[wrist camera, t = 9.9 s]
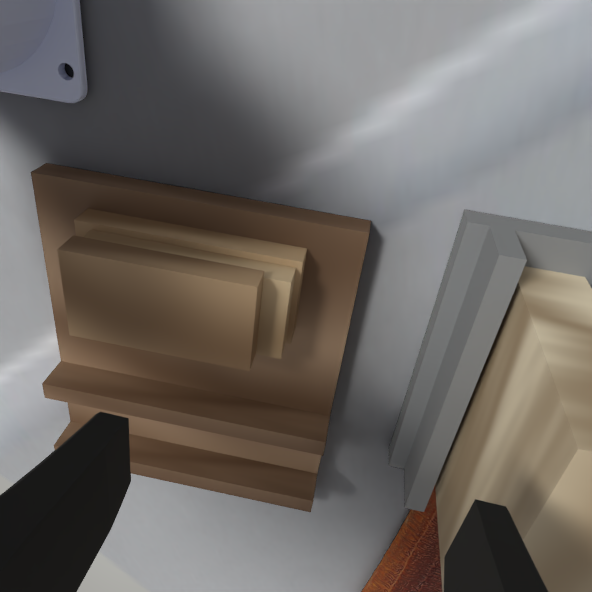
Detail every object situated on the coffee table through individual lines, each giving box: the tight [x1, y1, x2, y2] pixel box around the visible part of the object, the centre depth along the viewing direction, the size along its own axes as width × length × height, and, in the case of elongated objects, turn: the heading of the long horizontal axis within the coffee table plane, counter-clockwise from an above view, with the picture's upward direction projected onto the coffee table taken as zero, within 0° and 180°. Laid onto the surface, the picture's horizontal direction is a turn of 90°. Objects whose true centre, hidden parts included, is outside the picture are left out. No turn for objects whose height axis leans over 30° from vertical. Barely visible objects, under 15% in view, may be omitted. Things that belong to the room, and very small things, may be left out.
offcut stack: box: [57, 208, 307, 371], centre depth 19 cm, size 4×8×3 cm, turn 83°
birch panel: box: [435, 266, 592, 592], centre depth 17 cm, size 2×10×8 cm, turn 173°
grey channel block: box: [389, 210, 592, 512], centre depth 20 cm, size 12×6×3 cm, turn 173°
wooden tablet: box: [361, 486, 442, 592], centre depth 29 cm, size 27×10×2 cm, turn 166°
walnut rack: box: [31, 163, 371, 512], centre depth 22 cm, size 15×12×2 cm
